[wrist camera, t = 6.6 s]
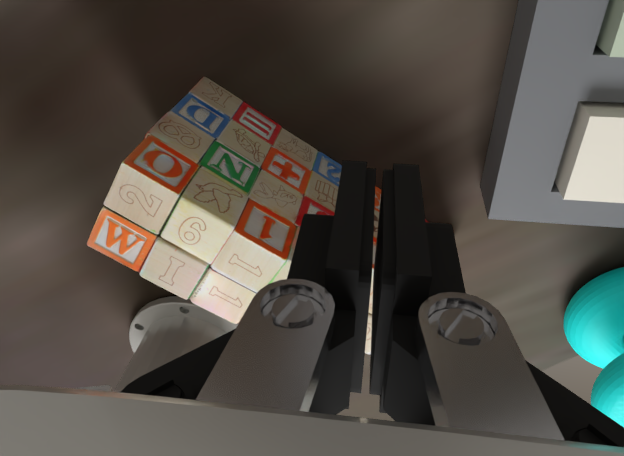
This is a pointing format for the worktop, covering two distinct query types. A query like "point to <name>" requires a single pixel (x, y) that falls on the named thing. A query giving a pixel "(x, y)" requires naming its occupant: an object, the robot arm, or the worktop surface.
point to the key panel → (548, 112)
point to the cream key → (594, 154)
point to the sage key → (612, 30)
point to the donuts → (601, 338)
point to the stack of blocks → (217, 202)
